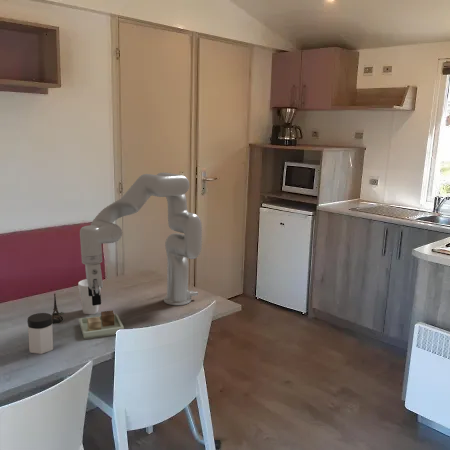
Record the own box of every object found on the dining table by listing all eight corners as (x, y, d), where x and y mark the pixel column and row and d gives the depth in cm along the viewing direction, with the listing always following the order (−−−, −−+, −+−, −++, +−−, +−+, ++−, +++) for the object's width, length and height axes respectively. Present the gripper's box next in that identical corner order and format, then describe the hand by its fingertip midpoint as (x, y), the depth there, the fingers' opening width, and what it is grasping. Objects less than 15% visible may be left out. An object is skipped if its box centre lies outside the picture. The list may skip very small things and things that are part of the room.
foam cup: (95, 316, 201) (94, 287, 198) (75, 314, 202) (74, 285, 200) (105, 308, 210) (104, 280, 207) (85, 306, 211) (85, 278, 209)
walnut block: (112, 320, 195) (112, 310, 194) (114, 325, 191) (114, 314, 190) (101, 322, 194) (101, 311, 193) (102, 326, 189) (102, 315, 188)
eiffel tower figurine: (62, 313, 205) (61, 283, 202) (78, 318, 199) (77, 288, 197) (31, 324, 192) (30, 293, 189) (48, 331, 187) (46, 298, 184)
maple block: (99, 327, 189) (99, 316, 188) (101, 332, 185) (101, 321, 184) (87, 329, 187) (87, 318, 186) (89, 333, 183) (88, 322, 182)
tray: (117, 319, 198) (117, 313, 198) (123, 333, 186) (123, 327, 185) (79, 324, 192) (79, 318, 192) (83, 339, 180) (83, 332, 179)
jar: (47, 340, 178) (45, 310, 175) (59, 347, 173) (57, 316, 170) (23, 349, 171) (21, 317, 168) (35, 356, 166) (33, 324, 163)
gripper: (106, 263, 176) (108, 307, 180) (98, 250, 191) (100, 290, 195) (84, 266, 173) (88, 310, 177) (78, 252, 188) (81, 293, 192)
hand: (94, 300), depth 186 cm, fingers open, 9 cm apart
